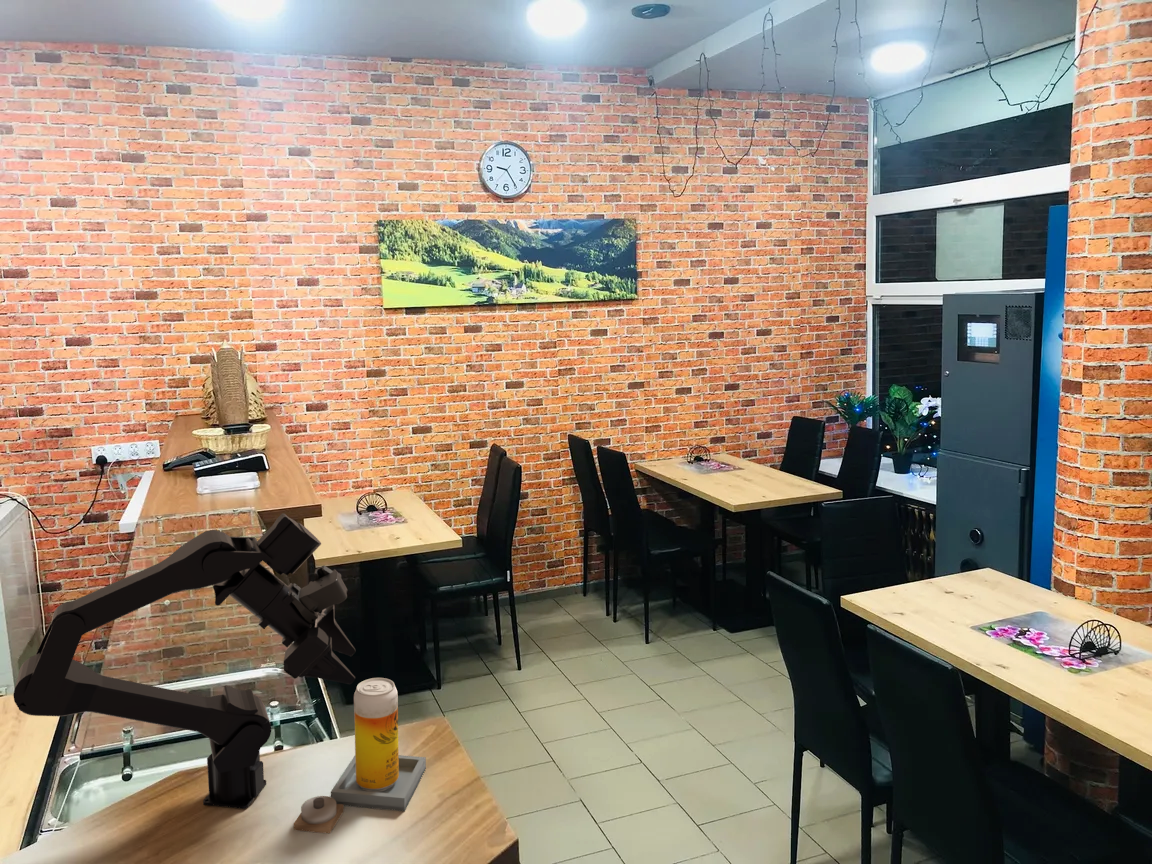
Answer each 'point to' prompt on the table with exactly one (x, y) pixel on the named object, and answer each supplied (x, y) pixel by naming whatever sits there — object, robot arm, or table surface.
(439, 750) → the table surface
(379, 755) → the beer can
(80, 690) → the robot arm
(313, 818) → the desk bell
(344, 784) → the tray
